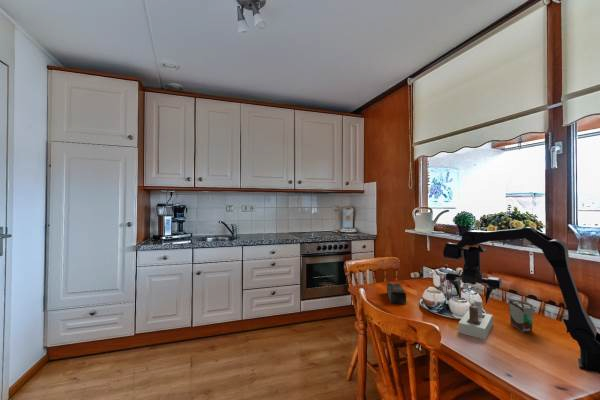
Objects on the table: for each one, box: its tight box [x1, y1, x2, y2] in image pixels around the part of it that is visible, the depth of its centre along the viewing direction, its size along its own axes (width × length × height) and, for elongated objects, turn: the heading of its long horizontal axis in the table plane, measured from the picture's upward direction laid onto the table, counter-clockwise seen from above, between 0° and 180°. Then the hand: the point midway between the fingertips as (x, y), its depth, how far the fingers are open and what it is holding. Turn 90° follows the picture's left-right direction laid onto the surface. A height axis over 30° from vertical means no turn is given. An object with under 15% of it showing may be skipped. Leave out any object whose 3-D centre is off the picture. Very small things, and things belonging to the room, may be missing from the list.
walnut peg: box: [468, 305, 478, 325], centre depth 113 cm, size 3×3×10 cm
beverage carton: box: [386, 282, 407, 305], centre depth 155 cm, size 8×19×7 cm, turn 169°
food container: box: [508, 299, 536, 334], centre depth 116 cm, size 12×6×10 cm, turn 168°
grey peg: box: [473, 299, 483, 318], centre depth 120 cm, size 3×3×10 cm
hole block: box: [458, 310, 494, 340], centre depth 116 cm, size 18×9×4 cm, turn 138°
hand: (472, 300), depth 113 cm, fingers open, 9 cm apart
